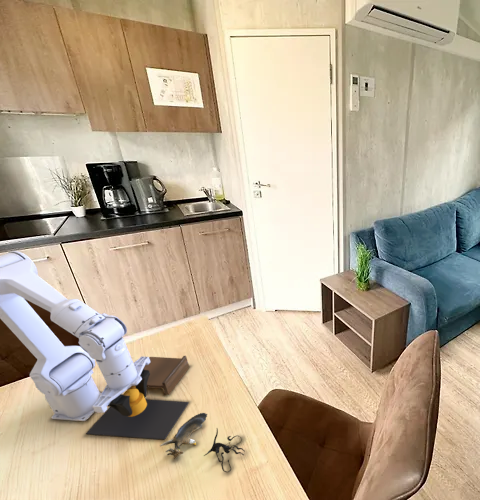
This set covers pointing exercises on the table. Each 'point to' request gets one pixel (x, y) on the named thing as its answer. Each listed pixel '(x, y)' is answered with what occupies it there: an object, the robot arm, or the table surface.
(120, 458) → the table surface
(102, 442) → the table surface
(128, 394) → the orange tiered figure
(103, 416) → the mat
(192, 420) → the eagle figurine
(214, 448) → the creature
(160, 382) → the shelf
